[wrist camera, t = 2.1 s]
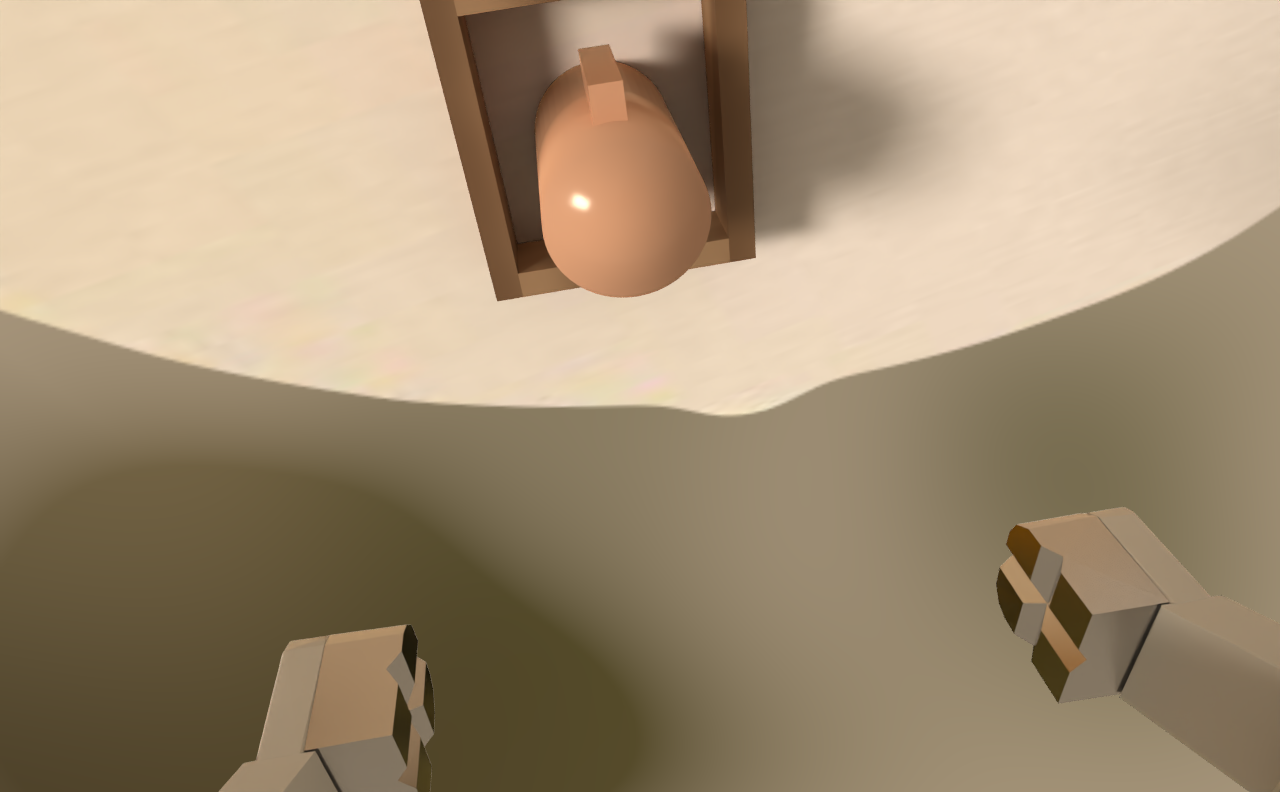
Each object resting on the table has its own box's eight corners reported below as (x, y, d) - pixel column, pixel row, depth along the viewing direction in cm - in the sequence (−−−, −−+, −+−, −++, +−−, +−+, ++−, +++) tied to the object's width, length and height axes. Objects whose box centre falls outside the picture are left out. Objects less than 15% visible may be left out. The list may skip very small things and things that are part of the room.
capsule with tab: (659, 16, 29) (702, 84, 22) (675, 183, 32) (716, 282, 26) (515, 39, 28) (517, 114, 22) (548, 204, 32) (558, 309, 26)
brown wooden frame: (726, -77, 27) (743, -65, 25) (741, 229, 34) (755, 257, 32) (422, -29, 27) (415, -14, 25) (498, 270, 33) (497, 301, 31)
